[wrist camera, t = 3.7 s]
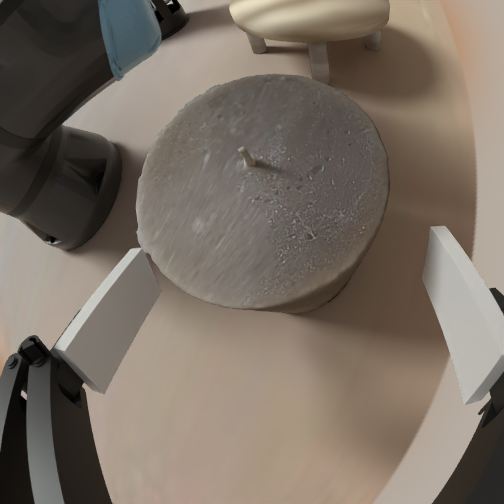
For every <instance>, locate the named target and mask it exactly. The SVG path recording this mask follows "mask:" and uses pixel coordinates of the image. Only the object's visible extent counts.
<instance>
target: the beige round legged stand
mask: <svg viewBox="0 0 504 504" xmlns="http://www.w3.org/2000/svg"><path fill="white" fill-rule="evenodd" d="M229 9H230V13H231V15H232V17H233V20H234V22H235V24H236V25H237V26H238V27H239V28H240V29H241V30H243V31H244V32H246V34H247V37H248V39H249V42H250V45H251V47H252V50H253V52H254V53H256V54H261V53H264V52H265V51H266V50H267V47H266V44H265V40H264V38H265V39H270V40H277V41H286V42H304V43H306V42H307V44H308V50H309V57H310V63H311V70H312V78H313V80H316V81H319V82H322V83H325V84H329V82H330V79H329V65H328V53H327V42H333V41H343V40H349V39H355V38H359V37H363V36H366V47H367V48H368V49H370V50H374V51H377V50H379V49H380V39H381V28H383V27H384V26H385V25H386V24H387V22H388V20H389V11H390V4H389V1H388V0H232V1H231V3H230V7H229Z"/></svg>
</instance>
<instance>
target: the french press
mask: <svg viewBox="0 0 504 504" xmlns="http://www.w3.org/2000/svg"><path fill="white" fill-rule="evenodd" d="M149 1H150V3H151V6H152V8H153V11H154V13H155V16H156V18H157V21H158V24H159V27H160V30H161V40H163V39H165V38H167V37H169V36H171V35H173V34H174V33H176V32H177V31H179V30H180V29H181V28H183V27H184V26H185V25H186V23H187V22H188V20H189V16H188V15H187V14H186V13H185V12H184V10H183V8H182V6H181V5H180V4H179V2H178V1H177V0H172V2H173V4H169V5H167V3H169V2H170V1H171V0H149ZM161 22H162V23H161Z"/></svg>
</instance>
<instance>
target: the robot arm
mask: <svg viewBox="0 0 504 504" xmlns="http://www.w3.org/2000/svg"><path fill="white" fill-rule="evenodd" d="M160 42H161V30H160V27H159V24H158V21H157V18H156V16H155V13H154V11H153V8H152V6H151V3H150V1H149V0H0V212H2V213H5V214H7V215H10V216H13V217H15V218H17V219H19V220H20V221H21V222H22V223H23V224H25V225H26V226H27V227H28V228H29V229H30V230H31V231H32V232H34V233H35V234H36V235H37V236H38V237H39V238H41V239H42V240H43V241H44V242H45V243H47V244H49V245H51V246H53V247H57V248H60V249H63V250H71V249H75V248H77V247H79V246H81V245H82V244H84V243H85V242H86V241H88V240H89V239H90V238H91V237H92V236H93V235H94V234H95V232H96V231H97V230H98V229H99V227H100V226H101V224H102V223H103V221H104V220H105V218H106V216H107V215H108V213H109V211H110V209H111V207H112V204H113V202H114V199H115V197H116V194H117V191H118V187H119V183H120V178H121V158H120V154H119V152H118V150H117V148H116V147H115V146H114V145H113V144H112V143H111V142H109V141H108V140H107V139H106V138H104V137H103V136H101V135H99V134H95V133H91V132H88V131H84V130H80V129H76V128H72V127H67V126H64V125H62V123H63V122H65V121H66V120H67V119H68V118H69V117H70V116H71V115H73V114H74V113H75V112H76V111H77V110H79V109H80V108H81V107H82V106H83V105H85V104H86V103H87V102H88V101H90V100H91V99H92V98H93V97H95V96H96V95H97V94H99V93H100V92H101V91H103V90H104V89H105V88H107V87H108V86H110V85H111V84H112V83H114V82H115V81H120V80H121V79H122V78H123V77H124V74H126V73H127V72H128V71H130V70H131V69H133V68H134V67H136V66H137V65H138V64H140V63H141V62H143V61H144V60H146V59H147V58H149V57H150V56H152V55H153V54H154V53H155V52H156V50H157V49H158V47H159V45H160ZM422 281H423V283H424V286H425V288H426V290H427V293H428V295H429V298H430V300H431V302H432V305H433V307H434V310H435V312H436V315H437V318H438V320H439V323H440V326H441V328H442V331H443V334H444V337H445V340H446V343H447V346H448V349H449V352H450V355H451V358H452V361H453V365H454V368H455V372H456V375H457V379H458V383H459V387H460V391H461V395H462V399H463V403H464V405H466V404H470V403H473V402H476V401H479V400H482V399H483V398H484V396H485V395H486V394H487V393H488V392H489V391H490V395H491V399H490V400H489V401H488V402H487V403H486V405H485V406H484V407H483V408H482V409H481V410H480V412H479V413H478V414H479V415H481V414H482V413H483V412H484V414H483V416H482V418H481V420H480V423H479V425H478V427H477V429H476V432H475V433H474V435H473V438H472V440H471V442H470V443H469V445H468V447H467V449H466V451H465V453H464V455H463V457H462V459H461V460H460V462H459V464H458V465H457V467H456V469H455V471H454V472H453V474H452V475H451V477H450V478H449V480H448V481H447V483H446V485H445V486H444V488H443V489H442V491H441V492H440V493H439V495H438V496H437V498H436V499H435V500H434V502H433V503H432V504H504V296H503V295H502V294H501V293H500V292H499V291H498V290H497V289H496V288H490V289H489V288H488V287H487V285H486V283H485V282H484V280H483V279H482V277H481V276H480V274H479V272H478V271H477V269H476V268H475V266H474V265H473V263H472V262H471V260H470V259H469V257H468V256H467V255H466V253H465V252H464V250H463V249H462V247H461V246H460V245H459V243H458V242H457V241H456V239H455V238H454V237H453V235H452V234H451V233H450V231H449V230H448V229H447V227H446V226H432V227H430V233H429V240H428V246H427V252H426V258H425V264H424V269H423V274H422ZM161 292H162V290H161V288H160V286H159V284H158V281H157V279H156V277H155V275H154V273H153V270H152V268H151V266H150V264H149V261H148V259H147V257H146V254H145V252H144V251H143V249H142V248H133V249H130V250H129V251H128V253H127V254H126V255H125V256H124V257H123V258H122V260H121V261H120V262H119V263H118V264H117V265H116V267H115V268H114V269H113V270H112V271H111V273H110V274H109V275H108V276H107V277H106V279H105V280H104V281H103V282H102V283H101V285H100V286H99V287H98V288H97V290H96V291H95V292H94V293H93V295H92V296H91V297H90V299H89V300H88V301H87V302H86V304H85V305H84V306H83V308H82V309H81V310H79V312H78V313H77V314H76V316H75V317H74V318H73V321H71V322H70V324H69V325H68V327H67V328H66V329H65V331H64V332H63V333H62V335H61V336H60V338H59V339H58V340H57V342H56V343H55V345H54V346H53V348H52V349H51V350H50V351H49V350H48V349H47V348H46V346H45V345H44V344H43V343H42V341H41V340H40V339H39V338H38V336H36V335H33V336H30V337H28V338H27V339H25V340H24V341H23V342H22V343H21V345H20V347H19V349H18V353H15V354H12V355H11V356H10V357H9V358H8V360H7V361H6V363H5V366H4V369H3V372H2V375H1V378H0V504H112V502H111V499H110V496H109V493H108V490H107V487H106V484H105V480H104V477H103V474H102V470H101V467H100V463H99V459H98V455H97V451H96V447H95V442H94V438H93V433H92V428H91V423H90V417H89V411H88V405H87V398H86V392H85V389H84V388H83V387H82V385H83V383H84V382H85V383H86V384H87V385H88V386H89V387H90V388H91V389H92V390H94V391H97V392H99V393H102V394H105V392H106V390H107V388H108V386H109V384H110V382H111V380H112V378H113V376H114V374H115V373H116V371H117V369H118V367H119V365H120V363H121V361H122V360H123V358H124V356H125V354H126V352H127V350H128V349H129V347H130V345H131V343H132V341H133V340H134V338H135V336H136V334H137V333H138V331H139V329H140V327H141V326H142V324H143V322H144V320H145V319H146V317H147V315H148V313H149V312H150V310H151V308H152V307H153V305H154V303H155V302H156V300H157V298H158V297H159V295H160V293H161ZM22 390H23V391H24V392H25V393H26V394H27V400H25V399H24V398H23V397H22V396H21V391H22Z"/></svg>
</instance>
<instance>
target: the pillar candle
mask: <svg viewBox="0 0 504 504" xmlns="http://www.w3.org/2000/svg"><path fill="white" fill-rule="evenodd" d="M389 189H390V178H389V169H388V158H387V154H386V150H385V148H384V145H383V143H382V141H381V138H380V135H379V133H378V131H377V128H376V127H375V125H374V123H373V122H372V120H371V119H370V118H369V117H368V115H367V114H366V113H365V112H364V111H363V110H362V109H361V108H360V107H359V105H358V104H357V103H355V102H354V101H353V100H351V99H350V98H349V97H348V96H347V95H345V94H344V93H342V92H340V91H339V90H337V89H335V88H333V87H331V86H329V85H327V84H325V83H322V82H319V81H316V80H313V79H310V78H307V77H302V76H297V75H284V74H282V75H281V74H267V75H256V76H250V77H245V78H241V79H238V80H234V81H231V82H229V83H225V84H222V85H217V86H214V87H211V88H210V89H209V90H207V91H206V92H205V93H204V94H202V95H199V96H197V97H195V98H194V99H192V100H191V101H189V102H188V103H187V104H186V105H185V107H184V108H183V109H181V110H179V112H178V114H177V116H176V117H175V118H174V119H173V120H172V121H171V122H170V123H169V124H168V125H167V126H166V127H165V128H164V129H163V130H161V132H160V133H159V134H158V139H157V141H156V142H155V143H154V144H153V146H152V147H151V148H150V150H149V151H148V153H147V158H146V160H145V163H144V165H143V169H142V174H141V176H140V178H139V180H138V190H137V200H136V213H137V222H138V230H137V231H136V233H137V235H138V242H139V244H140V245H141V248H142V249H143V251H144V252H145V253H146V254H147V253H149V254H150V255H151V258H152V260H153V262H154V263H155V264H156V265H157V266H158V267H159V269H160V271H161V272H162V273H163V274H164V276H166V277H167V278H168V279H170V280H171V281H172V282H173V283H174V284H176V285H177V286H178V287H179V288H181V289H182V290H183V291H184V292H185V293H187V294H189V295H191V296H193V297H196V298H198V299H200V300H203V301H205V302H207V303H211V304H215V305H219V306H222V307H226V308H233V309H243V310H256V311H269V312H282V313H303V312H309V311H312V310H315V309H316V308H318V307H321V306H323V305H325V304H326V303H327V302H330V301H331V300H332V299H333V298H335V297H336V296H337V295H338V294H339V293H340V290H342V289H343V288H344V287H345V286H346V284H347V283H348V281H349V280H350V278H351V276H352V275H353V273H354V272H355V271H356V269H357V267H358V266H359V264H360V263H361V261H362V259H363V257H364V256H365V254H366V252H367V251H368V249H369V247H370V246H371V244H372V242H373V240H374V238H375V236H376V234H377V232H378V230H379V228H380V225H381V223H382V220H383V217H384V214H385V210H386V207H387V202H388V196H389Z"/></svg>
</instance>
